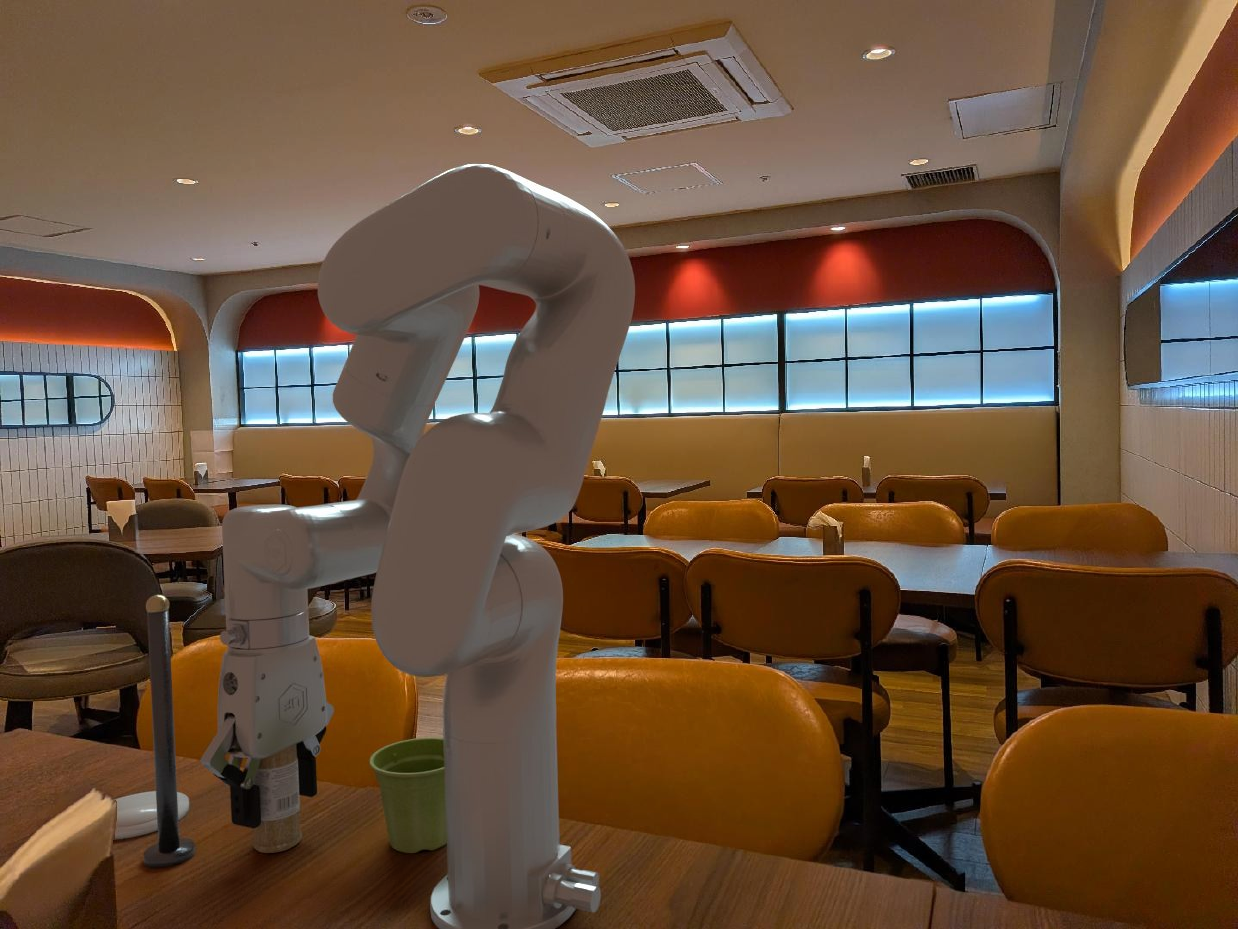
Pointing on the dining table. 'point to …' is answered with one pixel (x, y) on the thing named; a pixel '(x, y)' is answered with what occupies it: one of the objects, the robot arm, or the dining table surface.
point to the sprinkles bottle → (278, 802)
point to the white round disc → (142, 814)
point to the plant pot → (413, 793)
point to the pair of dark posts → (164, 742)
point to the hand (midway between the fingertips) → (275, 807)
